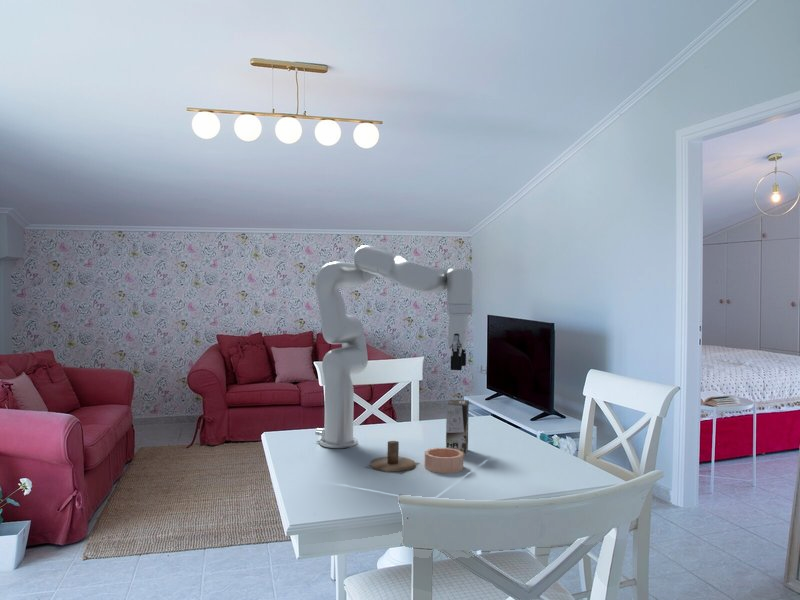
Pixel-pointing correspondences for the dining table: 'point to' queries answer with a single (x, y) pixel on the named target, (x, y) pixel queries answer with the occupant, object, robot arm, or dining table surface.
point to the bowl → (443, 460)
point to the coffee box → (457, 425)
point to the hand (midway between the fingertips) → (458, 367)
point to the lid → (392, 460)
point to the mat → (393, 472)
